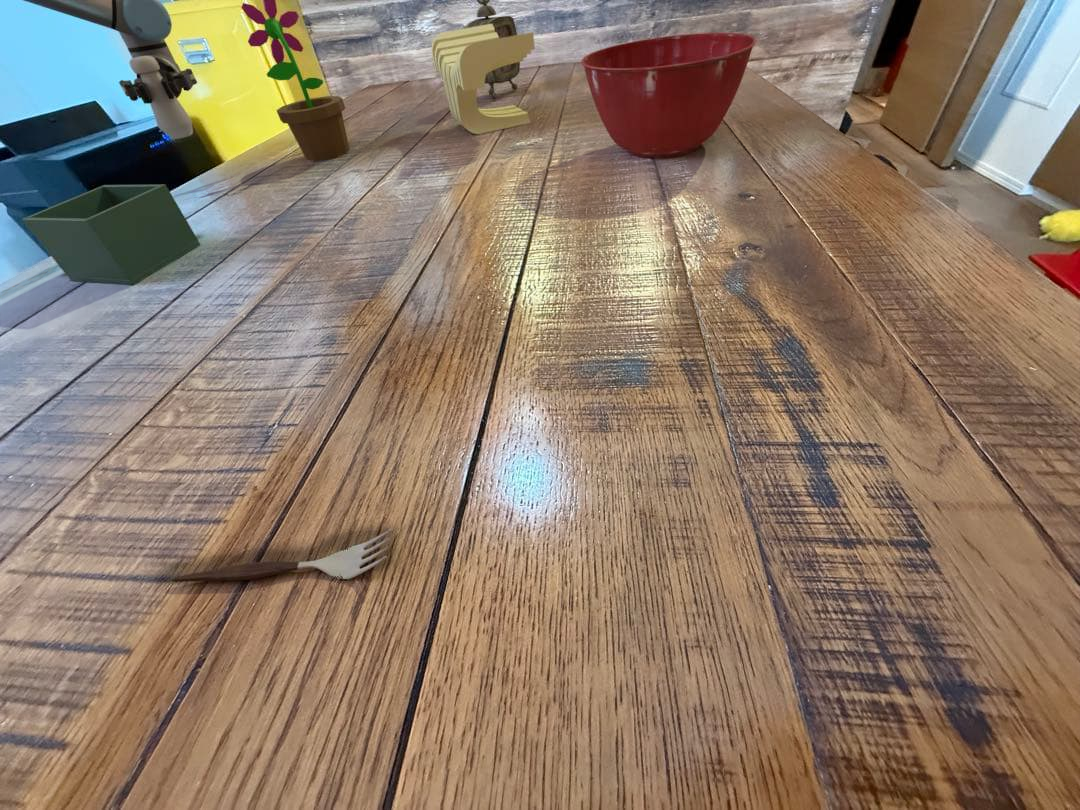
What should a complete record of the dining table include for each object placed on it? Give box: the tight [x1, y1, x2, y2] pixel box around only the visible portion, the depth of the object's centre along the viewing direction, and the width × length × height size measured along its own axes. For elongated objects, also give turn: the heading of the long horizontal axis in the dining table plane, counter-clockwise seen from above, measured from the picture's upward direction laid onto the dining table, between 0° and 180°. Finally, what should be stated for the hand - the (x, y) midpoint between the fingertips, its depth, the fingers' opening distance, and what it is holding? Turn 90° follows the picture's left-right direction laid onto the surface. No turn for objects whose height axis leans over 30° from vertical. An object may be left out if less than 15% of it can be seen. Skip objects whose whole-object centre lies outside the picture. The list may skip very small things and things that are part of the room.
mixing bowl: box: [580, 32, 757, 159], centre depth 90 cm, size 28×28×15 cm
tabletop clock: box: [463, 0, 521, 101], centre depth 138 cm, size 14×9×25 cm, turn 149°
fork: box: [171, 528, 393, 583], centre depth 35 cm, size 3×16×2 cm, turn 93°
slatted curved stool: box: [430, 24, 536, 135], centre depth 117 cm, size 30×16×18 cm, turn 20°
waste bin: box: [21, 183, 201, 286], centre depth 79 cm, size 13×13×10 cm
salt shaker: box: [129, 56, 194, 140], centre depth 95 cm, size 6×6×13 cm
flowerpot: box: [241, 0, 350, 162], centre depth 109 cm, size 14×14×30 cm
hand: (156, 92), depth 90 cm, fingers closed on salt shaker, 3 cm apart
